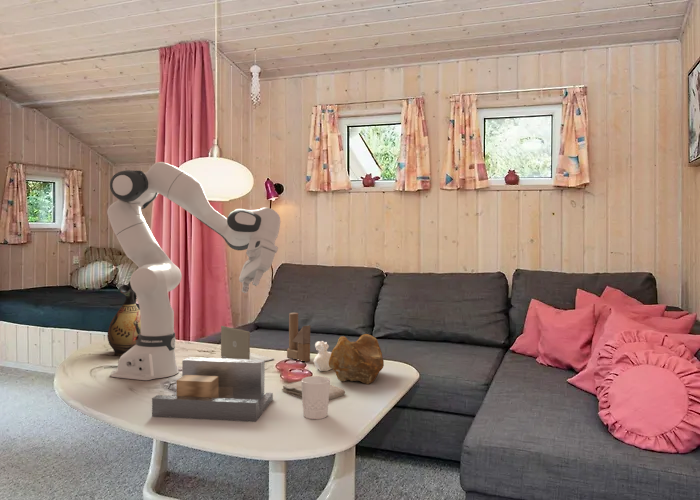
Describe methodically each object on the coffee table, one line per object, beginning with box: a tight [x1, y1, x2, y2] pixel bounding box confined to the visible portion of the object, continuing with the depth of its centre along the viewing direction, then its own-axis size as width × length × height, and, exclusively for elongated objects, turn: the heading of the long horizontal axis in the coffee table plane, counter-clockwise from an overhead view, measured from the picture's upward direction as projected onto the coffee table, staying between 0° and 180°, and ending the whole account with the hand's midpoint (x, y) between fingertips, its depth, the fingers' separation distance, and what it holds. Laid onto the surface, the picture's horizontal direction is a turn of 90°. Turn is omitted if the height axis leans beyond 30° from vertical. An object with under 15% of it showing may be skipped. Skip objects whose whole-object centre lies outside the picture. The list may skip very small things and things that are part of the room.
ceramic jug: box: [106, 281, 141, 357], centre depth 223 cm, size 17×15×30 cm
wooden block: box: [286, 312, 311, 363], centre depth 216 cm, size 4×11×18 cm, turn 42°
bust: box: [312, 340, 333, 372], centre depth 203 cm, size 12×8×11 cm
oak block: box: [176, 375, 219, 398], centre depth 156 cm, size 10×6×9 cm, turn 84°
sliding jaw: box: [181, 356, 266, 401], centre depth 165 cm, size 24×4×12 cm, turn 84°
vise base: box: [151, 391, 274, 422], centre depth 158 cm, size 29×19×5 cm, turn 84°
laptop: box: [220, 325, 275, 362], centre depth 216 cm, size 18×12×13 cm
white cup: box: [301, 375, 331, 420], centre depth 152 cm, size 8×8×10 cm
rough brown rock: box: [329, 333, 385, 385], centre depth 189 cm, size 23×17×15 cm
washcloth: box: [281, 380, 346, 401], centre depth 173 cm, size 12×18×3 cm, turn 51°
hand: (249, 288), depth 181 cm, fingers open, 8 cm apart
